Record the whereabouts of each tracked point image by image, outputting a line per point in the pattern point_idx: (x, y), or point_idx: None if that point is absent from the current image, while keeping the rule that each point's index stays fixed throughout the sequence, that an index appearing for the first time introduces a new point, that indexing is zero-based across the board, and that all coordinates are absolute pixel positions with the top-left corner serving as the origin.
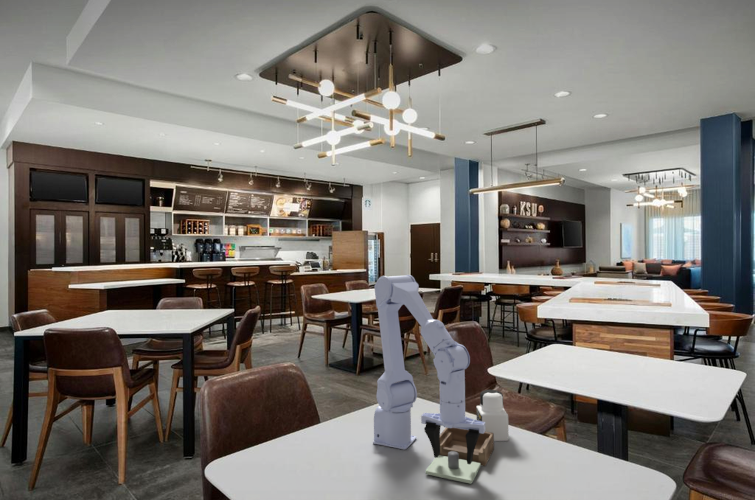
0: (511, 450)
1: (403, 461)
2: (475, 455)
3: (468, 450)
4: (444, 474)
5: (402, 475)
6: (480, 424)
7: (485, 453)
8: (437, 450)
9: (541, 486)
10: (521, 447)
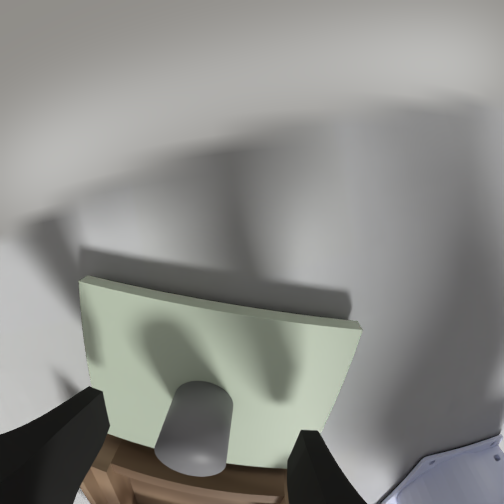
0: None
1: (444, 394)
2: (124, 464)
3: (42, 435)
4: (237, 318)
5: (460, 281)
6: None
7: None
8: (302, 470)
9: None
10: None
